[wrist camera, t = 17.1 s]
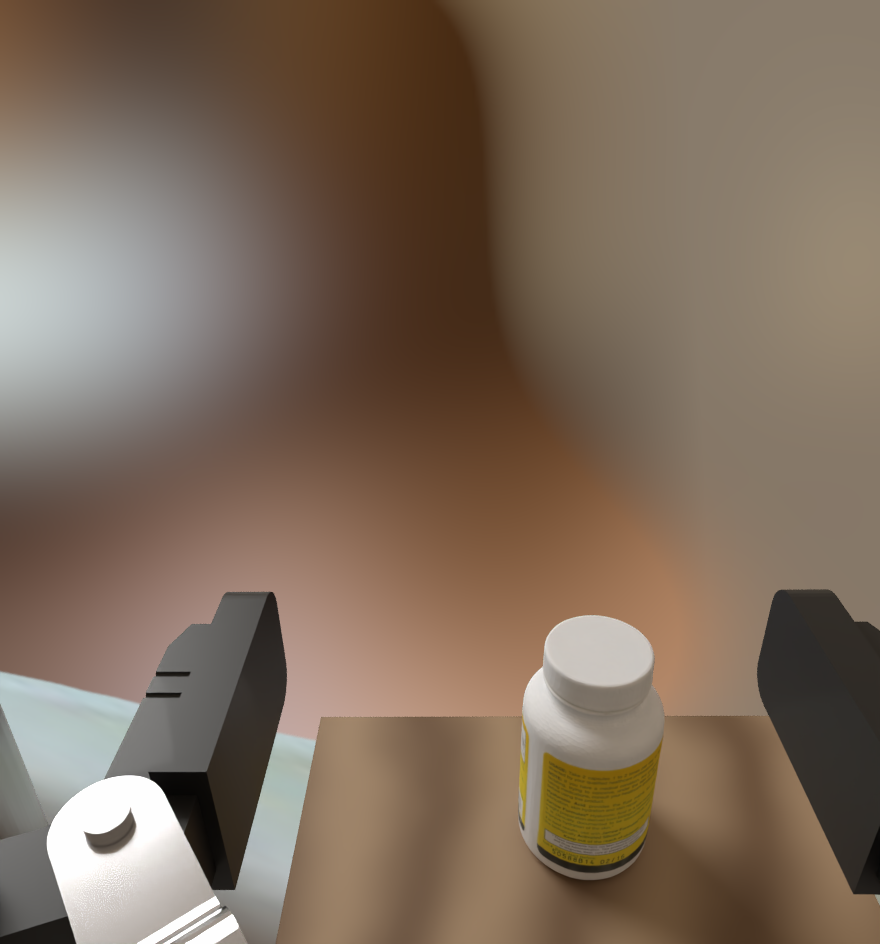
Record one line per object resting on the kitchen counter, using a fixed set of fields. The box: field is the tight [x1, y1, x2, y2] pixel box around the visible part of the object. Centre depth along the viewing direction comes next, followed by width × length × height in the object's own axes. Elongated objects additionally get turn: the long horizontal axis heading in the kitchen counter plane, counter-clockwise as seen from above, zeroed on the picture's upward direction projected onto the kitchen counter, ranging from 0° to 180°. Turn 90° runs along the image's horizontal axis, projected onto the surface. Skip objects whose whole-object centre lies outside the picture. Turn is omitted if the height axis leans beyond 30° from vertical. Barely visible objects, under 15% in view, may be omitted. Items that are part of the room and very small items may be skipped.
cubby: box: [276, 716, 880, 944], centre depth 37 cm, size 23×12×15 cm, turn 89°
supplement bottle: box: [518, 615, 664, 880], centre depth 31 cm, size 5×5×10 cm
